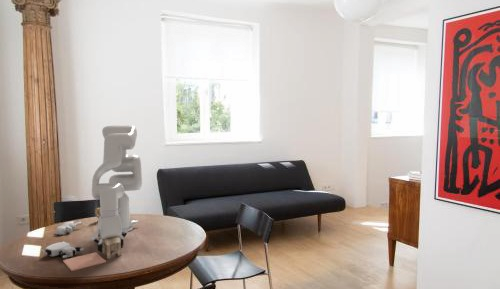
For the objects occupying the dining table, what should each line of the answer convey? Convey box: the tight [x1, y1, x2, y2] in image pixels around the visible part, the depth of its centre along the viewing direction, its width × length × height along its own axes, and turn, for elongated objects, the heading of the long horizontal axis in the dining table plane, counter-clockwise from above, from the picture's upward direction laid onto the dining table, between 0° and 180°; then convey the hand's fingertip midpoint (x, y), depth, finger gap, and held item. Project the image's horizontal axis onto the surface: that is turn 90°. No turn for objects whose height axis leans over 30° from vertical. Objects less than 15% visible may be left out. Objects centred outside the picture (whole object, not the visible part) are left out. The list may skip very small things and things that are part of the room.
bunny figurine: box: [54, 220, 83, 236], centre depth 205 cm, size 10×5×15 cm
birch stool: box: [100, 236, 122, 259], centre depth 169 cm, size 6×9×8 cm, turn 40°
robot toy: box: [40, 240, 85, 259], centre depth 169 cm, size 12×4×15 cm
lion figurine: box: [94, 207, 101, 220], centre depth 227 cm, size 15×5×9 cm, turn 165°
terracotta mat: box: [62, 252, 107, 272], centre depth 161 cm, size 14×14×1 cm
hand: (110, 249), depth 169 cm, fingers open, 8 cm apart
